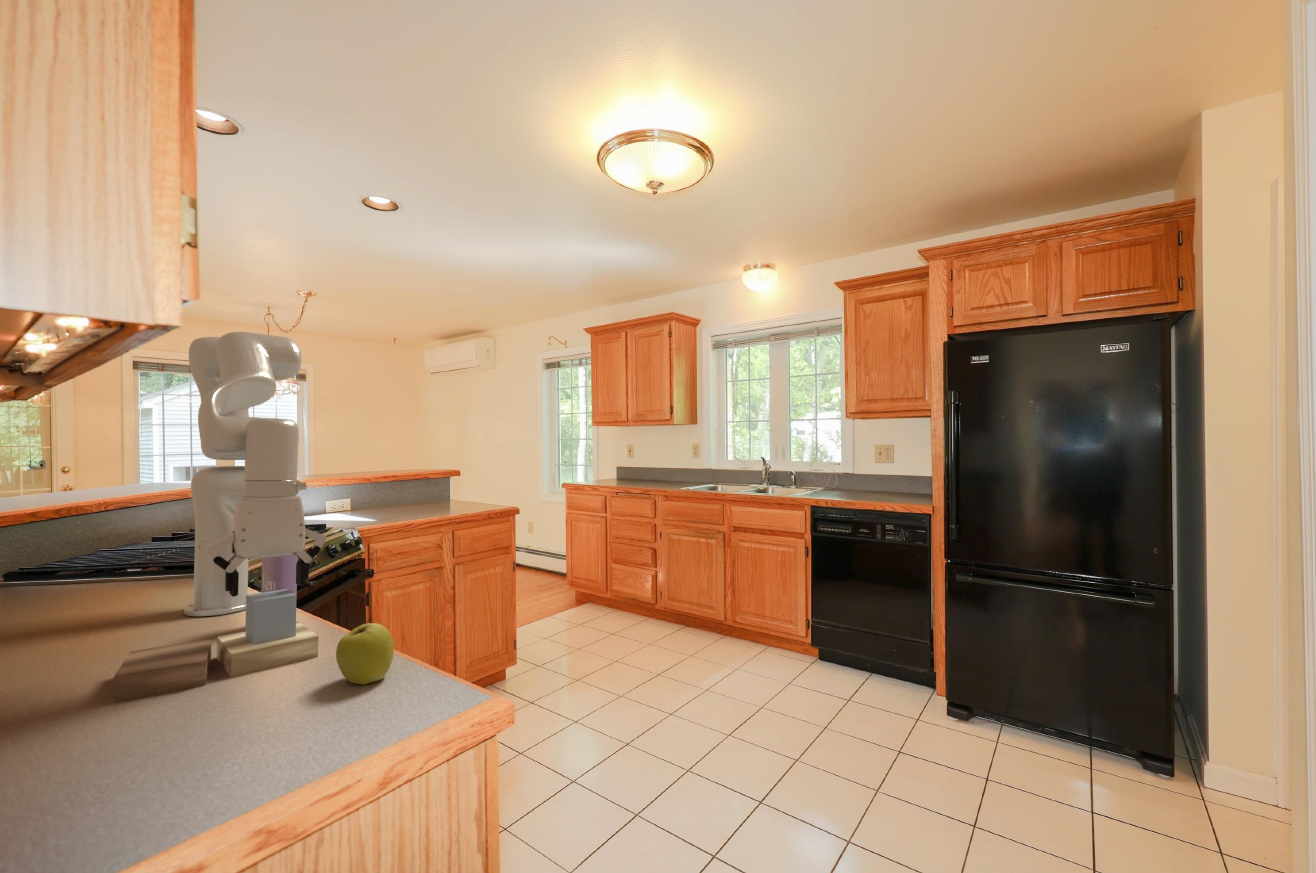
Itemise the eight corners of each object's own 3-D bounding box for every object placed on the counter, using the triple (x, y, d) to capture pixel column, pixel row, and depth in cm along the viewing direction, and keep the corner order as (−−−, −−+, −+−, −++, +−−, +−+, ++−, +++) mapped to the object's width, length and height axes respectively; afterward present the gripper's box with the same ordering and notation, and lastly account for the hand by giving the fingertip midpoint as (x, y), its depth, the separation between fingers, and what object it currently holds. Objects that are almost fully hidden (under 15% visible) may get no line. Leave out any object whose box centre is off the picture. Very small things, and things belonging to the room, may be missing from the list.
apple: (402, 658, 92) (397, 605, 89) (387, 692, 85) (382, 635, 82) (350, 661, 91) (343, 607, 88) (330, 696, 83) (323, 639, 80)
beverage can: (302, 620, 116) (304, 547, 117) (280, 629, 110) (282, 552, 111) (276, 619, 117) (277, 547, 117) (252, 628, 111) (254, 552, 111)
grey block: (245, 636, 96) (246, 595, 96) (286, 628, 100) (287, 588, 100) (253, 644, 91) (254, 601, 92) (295, 635, 96) (296, 594, 96)
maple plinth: (216, 660, 95) (217, 636, 95) (298, 642, 104) (298, 621, 104) (230, 680, 87) (231, 654, 87) (317, 659, 96) (318, 635, 96)
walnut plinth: (129, 676, 88) (130, 651, 88) (210, 662, 94) (211, 638, 94) (113, 704, 78) (114, 675, 78) (205, 687, 84) (205, 660, 84)
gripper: (320, 486, 105) (318, 577, 105) (203, 490, 93) (200, 594, 93) (333, 489, 100) (331, 585, 100) (211, 494, 88) (208, 604, 87)
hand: (268, 589), depth 96 cm, fingers open, 9 cm apart
